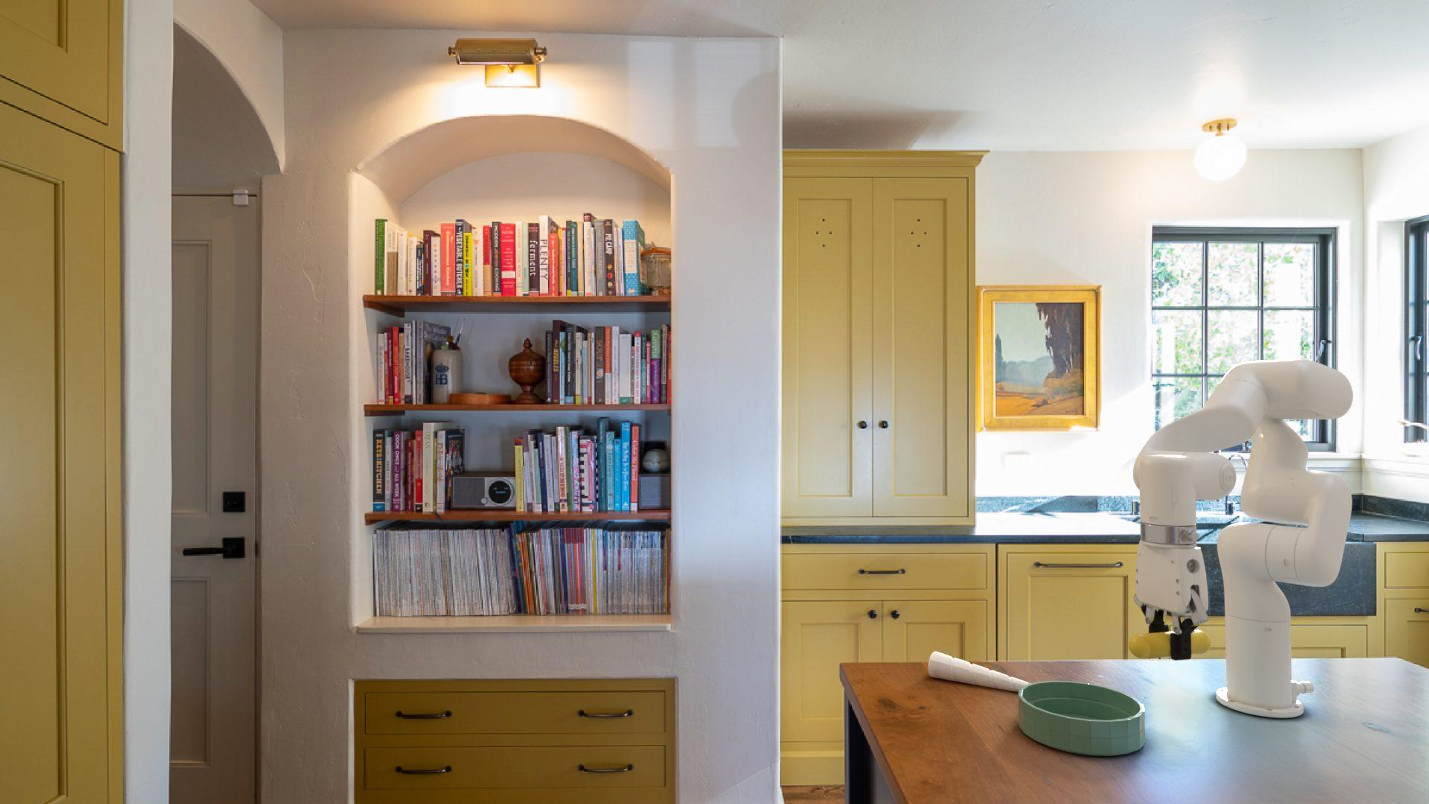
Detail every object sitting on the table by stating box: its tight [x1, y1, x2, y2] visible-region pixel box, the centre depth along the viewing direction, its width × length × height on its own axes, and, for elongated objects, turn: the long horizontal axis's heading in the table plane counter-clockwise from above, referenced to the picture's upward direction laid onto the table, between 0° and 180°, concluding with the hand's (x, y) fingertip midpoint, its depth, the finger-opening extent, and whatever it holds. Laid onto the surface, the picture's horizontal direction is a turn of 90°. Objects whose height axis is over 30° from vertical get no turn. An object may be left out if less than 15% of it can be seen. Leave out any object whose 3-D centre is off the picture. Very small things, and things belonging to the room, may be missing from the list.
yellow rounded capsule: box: [1128, 629, 1212, 660], centre depth 124 cm, size 14×4×4 cm, turn 103°
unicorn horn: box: [927, 651, 1032, 693], centre depth 150 cm, size 5×24×5 cm, turn 52°
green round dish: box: [1017, 680, 1146, 757], centre depth 129 cm, size 18×18×6 cm
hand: (1169, 653), depth 124 cm, fingers closed on yellow rounded capsule, 3 cm apart
